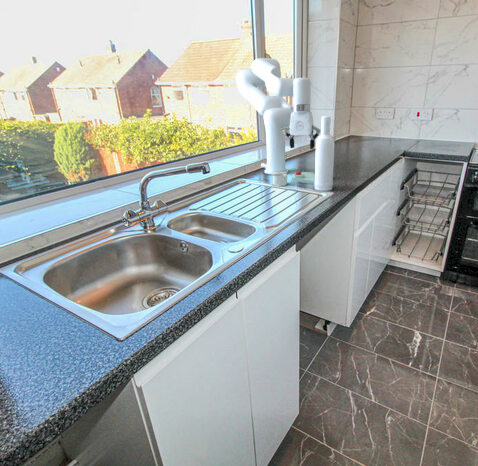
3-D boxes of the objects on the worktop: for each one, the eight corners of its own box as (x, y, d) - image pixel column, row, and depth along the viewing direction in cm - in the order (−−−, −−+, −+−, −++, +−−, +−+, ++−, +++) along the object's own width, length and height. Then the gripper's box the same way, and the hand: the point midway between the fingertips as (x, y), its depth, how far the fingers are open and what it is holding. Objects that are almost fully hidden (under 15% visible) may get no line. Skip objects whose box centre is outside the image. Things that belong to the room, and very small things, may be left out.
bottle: (335, 190, 141) (339, 116, 129) (317, 191, 140) (320, 117, 128) (328, 185, 149) (331, 115, 136) (312, 186, 147) (313, 115, 135)
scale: (290, 181, 156) (290, 175, 155) (301, 174, 168) (301, 169, 167) (324, 185, 150) (324, 178, 149) (333, 177, 161) (333, 171, 160)
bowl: (270, 185, 150) (270, 175, 148) (276, 182, 155) (276, 172, 153) (283, 187, 147) (283, 177, 145) (289, 183, 153) (289, 173, 151)
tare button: (294, 175, 156) (294, 172, 155) (296, 174, 158) (296, 171, 157) (299, 175, 155) (299, 172, 154) (301, 174, 157) (302, 171, 156)
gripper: (280, 109, 145) (281, 148, 152) (317, 108, 139) (317, 150, 145) (287, 108, 152) (287, 146, 158) (323, 108, 145) (322, 147, 152)
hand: (302, 148), depth 152 cm, fingers open, 9 cm apart
